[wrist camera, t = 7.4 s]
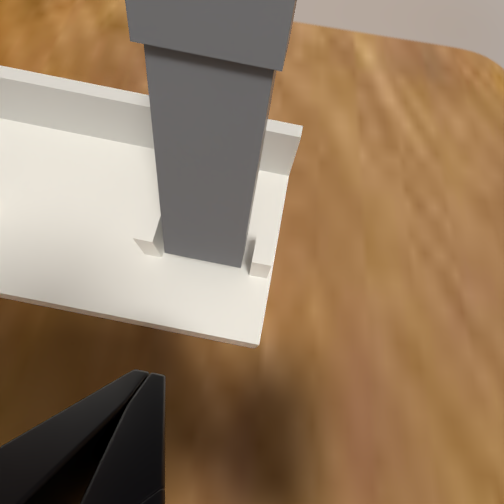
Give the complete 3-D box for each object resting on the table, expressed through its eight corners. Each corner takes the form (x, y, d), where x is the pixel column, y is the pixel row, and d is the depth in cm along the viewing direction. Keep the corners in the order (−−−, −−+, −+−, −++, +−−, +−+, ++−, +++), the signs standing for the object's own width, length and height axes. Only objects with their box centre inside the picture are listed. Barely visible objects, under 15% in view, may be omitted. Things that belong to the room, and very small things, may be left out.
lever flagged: (242, 283, 14) (298, -16, 7) (158, 266, 14) (119, -51, 7) (250, 245, 15) (302, -33, 8) (174, 230, 15) (156, -62, 8)
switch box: (254, 348, 17) (266, 339, 11) (-113, 274, 17) (-285, 228, 11) (282, 190, 20) (303, 121, 14) (-28, 128, 20) (-130, 34, 14)
